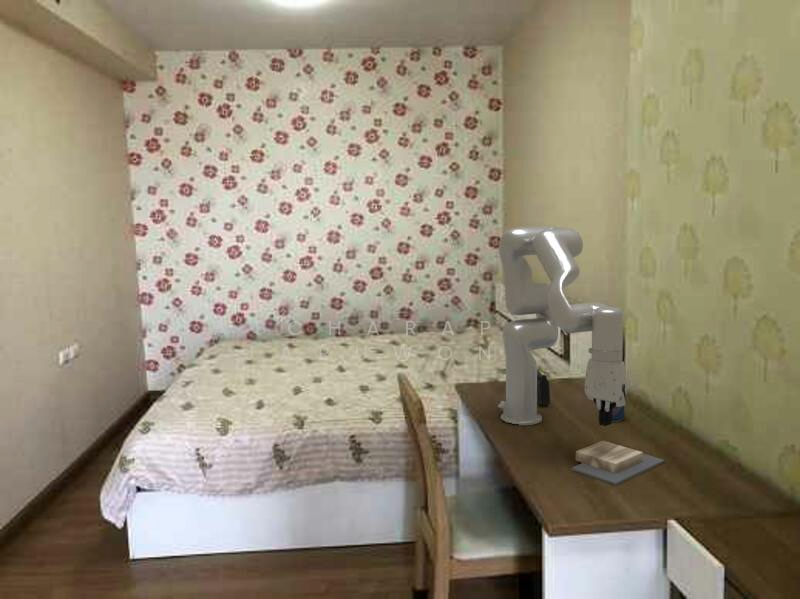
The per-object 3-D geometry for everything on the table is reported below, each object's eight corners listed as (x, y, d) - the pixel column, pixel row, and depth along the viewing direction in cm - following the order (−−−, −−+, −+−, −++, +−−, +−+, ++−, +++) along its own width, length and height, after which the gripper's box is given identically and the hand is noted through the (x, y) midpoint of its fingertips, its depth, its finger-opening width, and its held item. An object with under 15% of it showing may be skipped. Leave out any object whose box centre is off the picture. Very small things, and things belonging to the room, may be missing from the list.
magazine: (552, 383, 229) (534, 339, 256) (542, 383, 229) (525, 339, 256) (548, 427, 237) (531, 379, 264) (538, 427, 236) (522, 379, 264)
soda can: (601, 421, 218) (602, 383, 216) (601, 415, 224) (602, 378, 222) (624, 423, 216) (625, 385, 214) (624, 416, 222) (625, 379, 220)
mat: (571, 470, 180) (571, 467, 180) (620, 449, 194) (620, 447, 194) (615, 485, 170) (615, 483, 170) (664, 462, 184) (664, 460, 184)
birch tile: (575, 451, 185) (615, 463, 175) (602, 440, 192) (642, 452, 183) (575, 460, 185) (615, 473, 176) (602, 449, 193) (642, 461, 183)
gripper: (573, 353, 184) (572, 421, 187) (624, 362, 173) (622, 434, 176) (591, 348, 189) (589, 415, 192) (641, 357, 178) (639, 428, 180)
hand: (605, 424), depth 184 cm, fingers closed
